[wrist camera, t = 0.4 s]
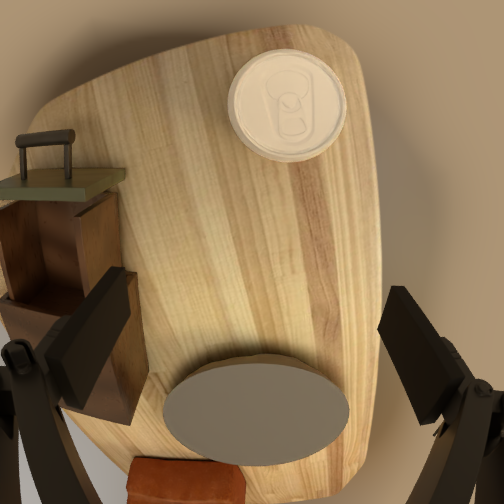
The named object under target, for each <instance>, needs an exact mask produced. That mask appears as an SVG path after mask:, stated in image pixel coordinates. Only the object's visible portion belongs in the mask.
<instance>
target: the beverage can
mask: <svg viewBox="0 0 504 504" xmlns="http://www.w3.org/2000/svg"><path fill="white" fill-rule="evenodd" d="M227 107H228V115H229V119H230V122H231V125H232V127H233V129H234V131H235V133H236V134H237V136H238V137H239V139H240V140H241V141H242V142H243V143H244V144H245V145H246V146H247V147H248V148H249V149H251V150H252V151H253V152H255V153H256V154H258V155H260V156H262V157H264V158H267V159H270V160H273V161H278V162H299V161H304V160H307V159H310V158H313V157H315V156H317V155H319V154H320V153H322V152H323V151H325V150H326V149H327V148H329V147H330V146H331V145H332V144H333V142H334V141H335V140H336V139H337V137H338V136H339V134H340V132H341V130H342V128H343V125H344V122H345V118H346V111H347V104H346V96H345V92H344V89H343V86H342V84H341V82H340V80H339V78H338V77H337V75H336V74H335V73H334V71H333V70H332V69H331V68H330V67H329V66H328V65H327V64H326V63H325V62H323V61H322V60H320V59H319V58H317V57H316V56H314V55H312V54H309V53H307V52H304V51H300V50H295V49H276V50H271V51H267V52H264V53H262V54H259V55H257V56H256V57H254V58H252V59H251V60H249V61H248V62H247V63H246V64H245V65H244V66H243V67H242V68H241V69H240V70H239V71H238V73H237V74H236V76H235V77H234V79H233V81H232V83H231V86H230V89H229V93H228V101H227Z"/></svg>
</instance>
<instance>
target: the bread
mask: <svg viewBox="0 0 504 504" xmlns="http://www.w3.org/2000/svg"><path fill="white" fill-rule="evenodd" d="M126 489H127V492H128V499H127V504H245V493H246V482H245V479H244V476H243V474H242V473H241V471H240V469H239V467H238V466H237V465H233V464H228V463H223V462H216V461H169V460H161V459H152V458H138V457H134V459H133V461H132V463H131V465H130V470H129V475H128V480H127V485H126Z"/></svg>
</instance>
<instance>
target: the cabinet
mask: <svg viewBox="0 0 504 504" xmlns="http://www.w3.org/2000/svg"><path fill="white" fill-rule="evenodd" d="M125 272H126V281H127V288H128V296H129V303H130V309H131V315H130V317H129V319H128V321H127V323H126V325H125V326H124V328H123V330H122V332H121V334H120V336H119V338H118V340H117V342H116V344H115V346H114V347H113V349H112V351H111V353H110V355H109V357H108V359H107V361H106V363H105V365H104V367H103V369H102V371H101V373H100V375H99V377H98V379H97V381H96V384H95V386H94V388H93V390H92V392H91V394H90V396H89V398H88V400H87V403H86V405H85V407H84V409H83V410H79V409H76V408H72V407H69V406H66V404H65V402H64V400H63V398H62V397H61V399H60V401H59V403H58V404H59V406H60V407H61V408H64V409H68V410H71V411H74V412H77V413H81V414H84V415H88V416H91V417H95V418H99V419H103V420H107V421H111V422H115V423H119V424H123V425H128V426H130V425H131V422H132V419H133V416H134V413H135V410H136V407H137V404H138V401H139V398H140V395H141V392H142V389H143V386H144V383H145V381H146V378H147V375H148V372H149V367H148V361H147V354H146V348H145V341H144V333H143V326H142V318H141V309H140V300H139V290H138V279H137V273H136V272H127V271H125ZM0 313H1V316H2V318H3V321H4V324H5V327H6V329H7V332H8V335H9V337H10V340H11V341H12V340H14V339H26V340H27V341H29V342H30V344H31V346H32V348H33V350H34V349H35V348H36V346H37V345H38V344H39V342H40V341H41V340H42V338H43V337H44V336H46V333H47V332H48V330H50V328H51V326H52V325H53V324H54V323H55V321H56V320H58V319H59V318H61V317H62V316H64V315H70V316H72V315H73V314H69V313H64V312H59V311H54V310H50V309H45V308H40V307H36V306H32V305H27V304H23V303H19V302H15V301H11V300H10V296H9V293H8V292H7V293H5V294H4V295H3V296H2V297H1V298H0Z"/></svg>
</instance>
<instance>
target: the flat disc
mask: <svg viewBox="0 0 504 504" xmlns="http://www.w3.org/2000/svg"><path fill="white" fill-rule="evenodd" d="M163 417H164V421H165V424H166V426H167V428H168V430H169V431H170V433H171V434H172V435H173V436H174V437H175V438H176V439H177V440H178V441H179V442H180V443H181V444H182V445H184V446H185V447H187V448H188V449H190V450H192V451H193V452H195V453H197V454H199V455H202V456H204V457H206V458H209V459H212V460H215V461H219V462H223V463H228V464H233V465H241V466H270V465H278V464H284V463H288V462H293V461H296V460H299V459H302V458H305V457H308V456H310V455H312V454H314V453H316V452H318V451H320V450H322V449H323V448H325V447H326V446H328V445H329V444H330V443H332V442H333V441H334V440H335V439H336V438H337V437H338V436H339V435H340V434H341V432H342V431H343V430H344V428H345V426H346V424H347V421H348V418H349V405H348V401H347V399H346V397H345V395H344V394H343V393H342V391H341V390H340V389H339V388H338V387H337V386H336V385H335V384H333V383H332V382H331V381H330V380H329V379H328V378H327V377H326V375H324V374H323V373H321V372H319V371H317V370H316V369H314V368H312V367H310V366H308V365H307V364H306V363H304V362H301V361H299V360H298V359H296V358H293V357H286V356H284V355H278V354H256V355H254V356H247V357H238V358H237V357H233V358H229V359H226V360H223V361H217V362H211V363H209V364H206V365H203V366H202V367H200V368H199V369H198V370H196V371H194V372H192V373H191V374H190V375H189V376H188V377H186V378H185V379H184V380H183V381H182V382H181V383H180V384H179V385H177V386H176V387H175V388H174V389H173V390H172V391H171V392H170V394H169V395H168V397H167V399H166V400H165V403H164V407H163Z"/></svg>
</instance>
